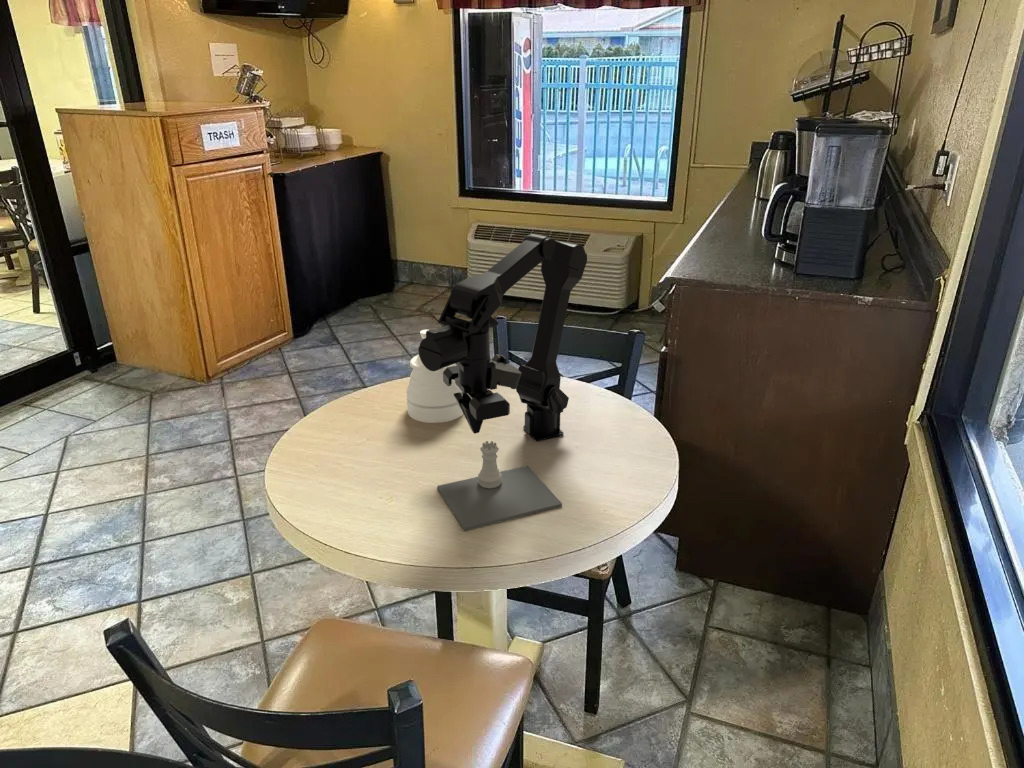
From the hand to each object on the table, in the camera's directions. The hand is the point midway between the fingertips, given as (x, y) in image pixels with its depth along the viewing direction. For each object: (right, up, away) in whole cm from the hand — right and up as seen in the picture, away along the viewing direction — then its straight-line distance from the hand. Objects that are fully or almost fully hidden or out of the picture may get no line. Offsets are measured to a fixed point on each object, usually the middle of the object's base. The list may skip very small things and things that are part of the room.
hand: (475, 432), depth 133 cm
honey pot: (-10, +3, +26) cm, 28 cm away
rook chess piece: (+3, -9, -3) cm, 10 cm away
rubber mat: (+4, -11, -6) cm, 13 cm away
